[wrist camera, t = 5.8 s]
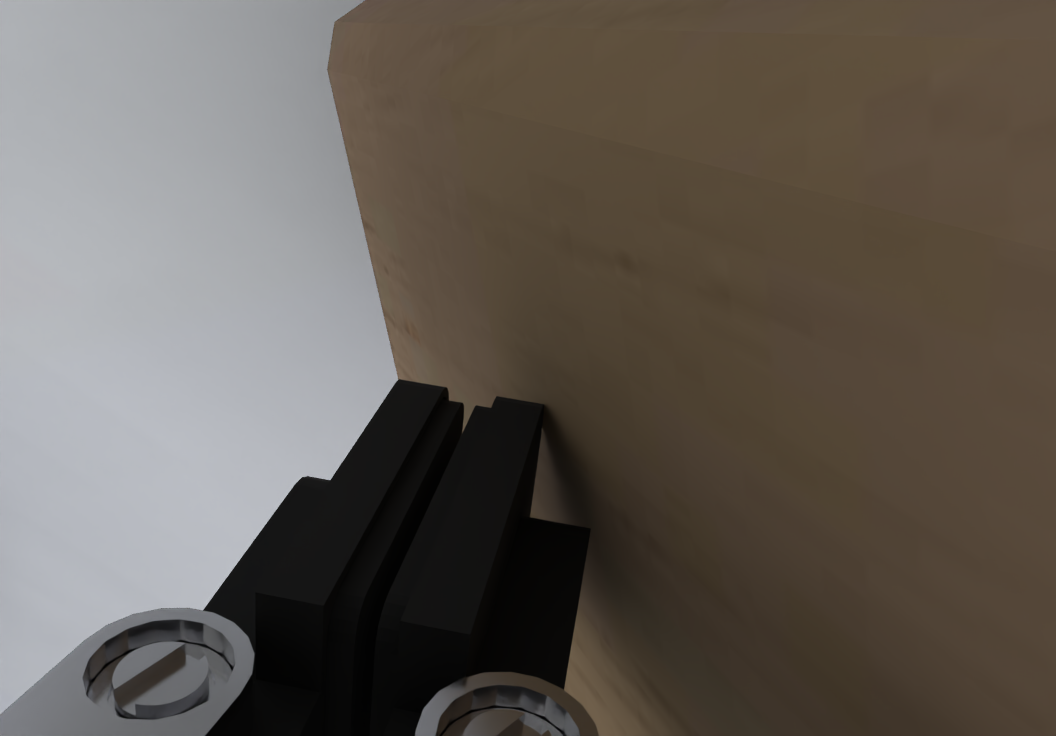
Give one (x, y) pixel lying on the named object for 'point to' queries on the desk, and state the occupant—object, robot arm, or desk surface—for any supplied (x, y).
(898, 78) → the block
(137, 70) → the desk surface
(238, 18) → the desk surface
